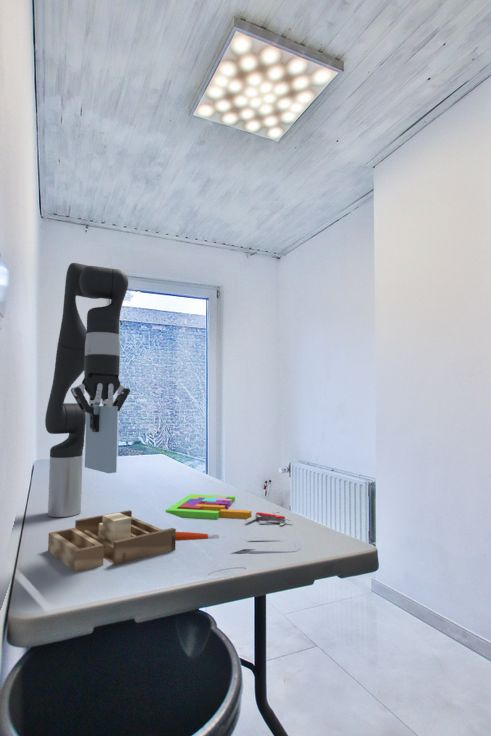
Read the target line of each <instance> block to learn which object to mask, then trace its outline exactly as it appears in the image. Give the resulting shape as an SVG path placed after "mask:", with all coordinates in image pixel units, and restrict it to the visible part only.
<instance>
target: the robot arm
mask: <svg viewBox="0 0 491 736" xmlns="http://www.w3.org/2000/svg"><path fill="white" fill-rule="evenodd" d="M66 270H67V271H66V275H65V282H64V283H65V284H64V295H63V296H64V297H63V308H62V318H61V324H60V330H59V335H58V342H57V348H56V353H55V354H56V355H55V364H54V373H53V380H52V385H51V389H50V393H49V394H50V395H49V398H48V403H47V407H46V411H45V420H44V422H45V423H44V424H45V429H46V431H47V433H48V434H51V435H63V434H68V436H67V438H66V439H65V440H63V441H61V442H60V443H58V444H55V445H53V446H52V447H50V449H49V450H50V451H49V470H48V471H49V477H48V499H47V505H48V506H47V516H48V517H51V518H65V517H66V518H67V517H72V516H76V515H78V514H81V512H82V489H83V488H82V487H83V485H82V484H83V451H84V447H85V436H86V413H89V415H90V429H92V432H99V415H98V413H99V406H100V405H101V404H102V406H118V412H120V411H121V409H122V407H123V405H124V404H125V402H126V400H127V399H128V396H129V394H130V393H131V389H130V388H126V387H124V386H123V385H122V384H121V381H120V378H119V376H120V363H121V362H120V355H121V346H120V345H121V343H120V317H121V311H122V306H123V303H124V300H125V298H126V294H127V291H128V288H129V278H128V276H127V274H126V273H125V271H123V270H121V269H118V268H112V267H111V268H110V267H104V266H96V265H95V266H94V265H86V264H82V263H78V262H71V263H70V264H69V265H68V268H67V269H66ZM77 297H82V298H86V299H94V300H95V299H96V300H97V299H103V300H104V299H106V300H110V303H109V304H108V305H104V306H96V307H92V308H90V309H88V311H87V313H86V325H84V323H83V321H82V318H81V316H80V315H81V314H79V311H78V307H77V306H78V305H77V300H76V299H77ZM82 374H84V375H83V379H82V381H81V383H80V384H79V385H77V386H73V387H72V385H73V384H74V383H75V382H76V381H77V379H78V378H79V377H80V376H81V375H82ZM69 390H70V392H71V394H72V396H73V397H74V400H75V401H76V402H75V403H72V402H71V403H70V402H69V403H68V402H67V403H66V402H65V399H66V396H67V394H68V392H69ZM85 391H86V393H87V395H88V396H89V397H88V400H87V397H85ZM115 394H116V395H117V396H116V398H115V399H114V395H115Z"/></svg>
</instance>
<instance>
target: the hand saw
mask: <svg viewBox="0 0 491 736" xmlns="http://www.w3.org/2000/svg"><path fill="white" fill-rule="evenodd" d="M219 535H220V534H219V533H203V532H201V533H200V532H189V531H176V541H192V540H193V541H194V540H212V539H213V540H214V539H219V538H223V539H224V538H225V536H219ZM240 540H242V541H260V542H261V541H271V542H272V541H273V542H274V541H275V542H279V541H280V542H281V541H282V542H284V541H285V542H286V541H288V539H266V538H265V539H257V538H255V539H254V538H253V539H252V538H251V539H250V538H248V539H247V538H246V539H245V538H244V539H243V538H240ZM293 541H294V542H293V543H294V548H293V549H291V548H290V549H271V548H270V549H268V548H267V549H266V548H265V549H262V548H260V549H257V548H256V549H255V548H244V549H240V550H238V551H234V552H230V555H231V554H241V555H242V554H243V555H246V554H247V555H248V554H274V553H275V554H277V553H278V554H279V553H280V554H281V553H295V552H298V551H300V550H301V545H300V538H294V539H293Z"/></svg>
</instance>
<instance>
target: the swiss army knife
mask: <svg viewBox="0 0 491 736" xmlns="http://www.w3.org/2000/svg"><path fill="white" fill-rule="evenodd" d="M279 513H280V511H274V512H265V513H264V512H260V511H259V512H255V515H254V516H251V518H248V519H244V521H245V522H250V521H252V520H255V521H257V522H259V523H271V524H277V525H279V526H284V525H285V524H286V521H288V522H292V521H293V520H292V519H291V518H286V516H284V515H279Z"/></svg>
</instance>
